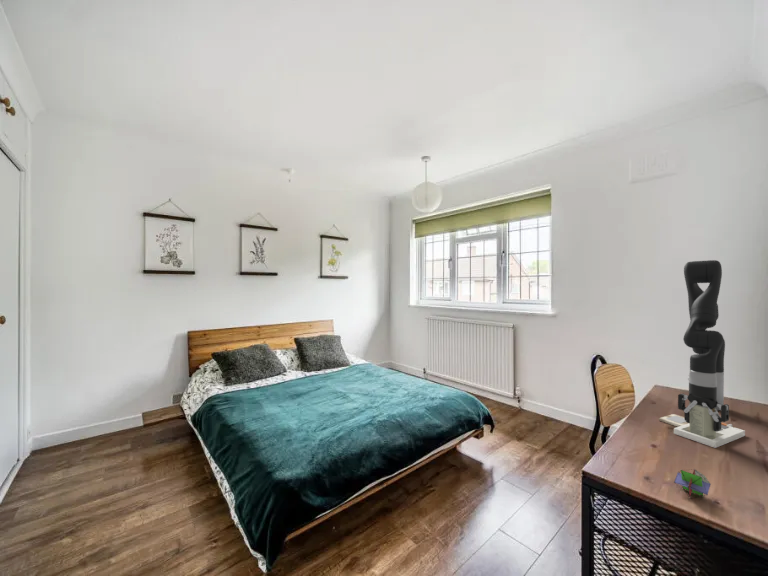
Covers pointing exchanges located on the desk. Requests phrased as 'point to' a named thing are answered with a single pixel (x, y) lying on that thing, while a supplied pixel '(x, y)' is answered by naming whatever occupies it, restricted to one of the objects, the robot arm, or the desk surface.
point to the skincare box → (702, 422)
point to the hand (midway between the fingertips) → (702, 426)
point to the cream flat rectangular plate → (674, 420)
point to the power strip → (721, 438)
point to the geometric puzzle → (693, 482)
